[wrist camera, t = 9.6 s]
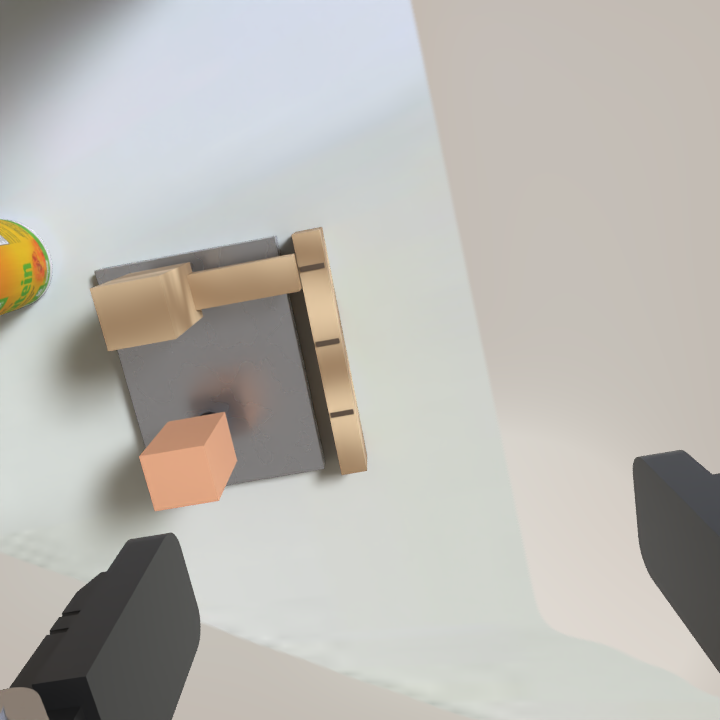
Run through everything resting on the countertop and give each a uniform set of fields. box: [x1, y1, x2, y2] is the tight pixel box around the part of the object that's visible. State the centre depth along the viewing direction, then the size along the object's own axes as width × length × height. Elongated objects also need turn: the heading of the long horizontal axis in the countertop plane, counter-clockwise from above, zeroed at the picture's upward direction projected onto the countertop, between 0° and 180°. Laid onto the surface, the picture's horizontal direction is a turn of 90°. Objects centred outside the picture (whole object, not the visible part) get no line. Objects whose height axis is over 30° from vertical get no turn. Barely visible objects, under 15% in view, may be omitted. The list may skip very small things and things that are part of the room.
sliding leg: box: [139, 412, 237, 511], centre depth 38 cm, size 3×4×7 cm
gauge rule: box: [90, 227, 367, 475], centre depth 38 cm, size 15×11×8 cm
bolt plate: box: [95, 236, 325, 485], centre depth 42 cm, size 15×11×1 cm
